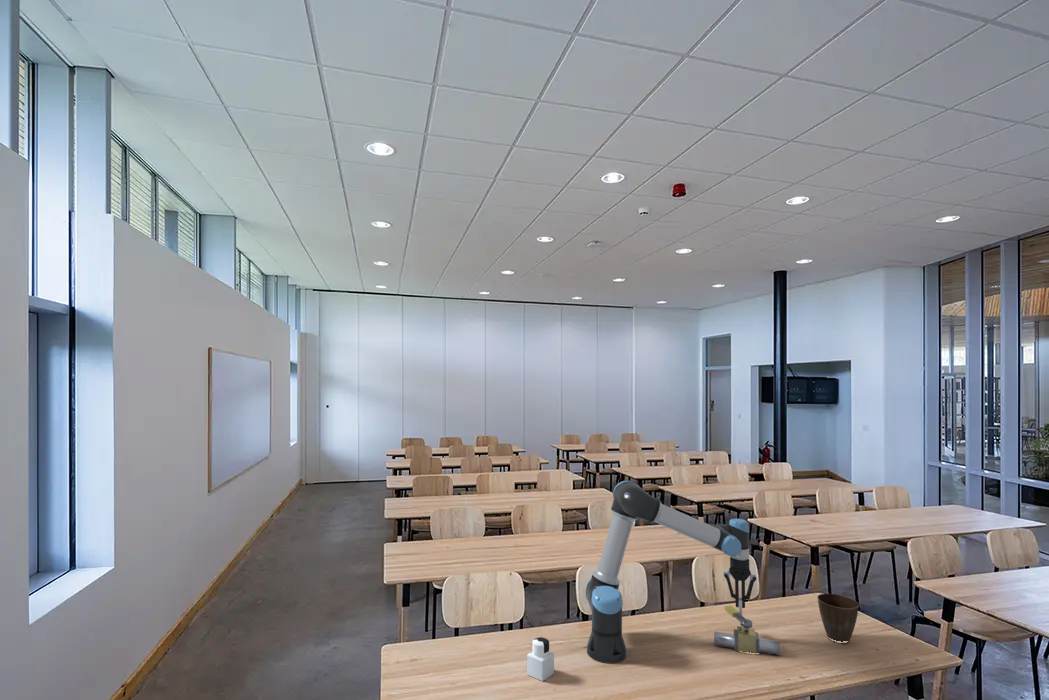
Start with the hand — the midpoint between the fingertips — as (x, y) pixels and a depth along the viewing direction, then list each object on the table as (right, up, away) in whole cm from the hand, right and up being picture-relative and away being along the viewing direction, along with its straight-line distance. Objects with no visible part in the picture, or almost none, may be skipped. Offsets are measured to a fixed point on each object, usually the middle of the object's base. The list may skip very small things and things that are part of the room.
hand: (740, 615), depth 226 cm
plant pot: (+40, -10, -1) cm, 42 cm away
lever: (-2, 0, -4) cm, 4 cm away
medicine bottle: (-84, -6, -31) cm, 90 cm away
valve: (-2, -9, -10) cm, 13 cm away
